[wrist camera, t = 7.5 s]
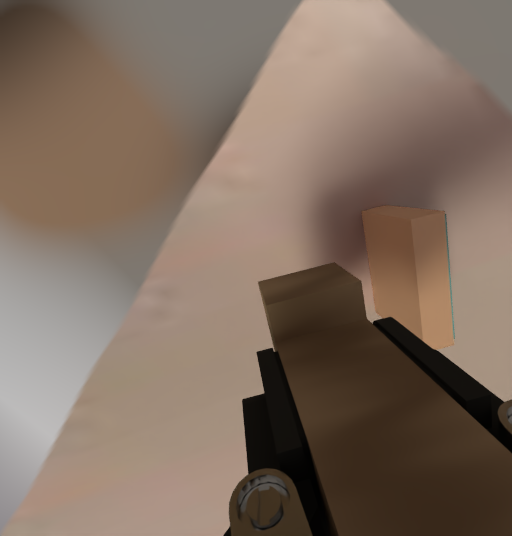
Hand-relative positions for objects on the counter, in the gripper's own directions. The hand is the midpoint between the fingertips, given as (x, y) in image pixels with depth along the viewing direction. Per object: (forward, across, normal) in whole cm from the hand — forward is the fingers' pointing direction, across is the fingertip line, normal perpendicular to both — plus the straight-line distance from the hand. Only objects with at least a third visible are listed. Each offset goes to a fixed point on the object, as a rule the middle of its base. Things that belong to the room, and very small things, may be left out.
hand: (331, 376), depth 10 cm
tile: (+10, -7, 0) cm, 12 cm away
